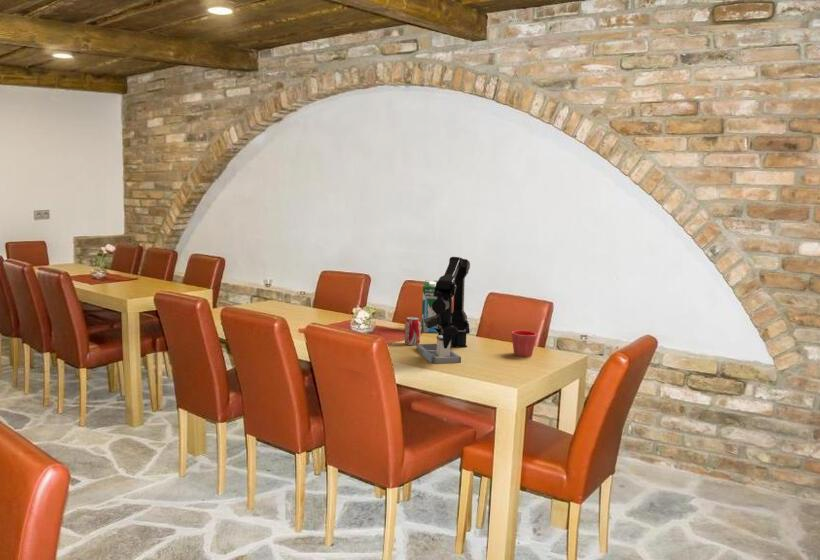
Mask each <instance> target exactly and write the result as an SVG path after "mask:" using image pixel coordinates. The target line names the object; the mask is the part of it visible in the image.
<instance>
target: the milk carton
mask: <svg viewBox="0 0 820 560" xmlns="http://www.w3.org/2000/svg"><path fill="white" fill-rule="evenodd" d="M437 282H438V280H431V279H428V280H427V279H425V281H424V283H423V286H422V303H421V307H422V308H421V330H420V333H427V334H428V333H429V334H430V333H431V334H438V332H437V331H436V330H435V329H434V328H436V326H434V327H432V328H429V329H428V328H427V327H426V326H425V322H424V319H426V318H429V317H432V316H435V315H436V313H435V312H434V311H433V309H432V304H433V302H434V301H435V300H437V297H434V292H435V287H436V283H437ZM437 293H438V292H437Z"/></svg>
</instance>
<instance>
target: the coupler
mask: <svg viewBox="0 0 820 560" xmlns="http://www.w3.org/2000/svg"><path fill="white" fill-rule="evenodd" d="M450 342H451V341H450ZM436 344H437V349H436V350H437V355H438V356H437V357H450V349H451V345H450V343H449V345H448V347H447V348H444V344H443V336H442V335H438V334H437V336H436Z"/></svg>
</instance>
